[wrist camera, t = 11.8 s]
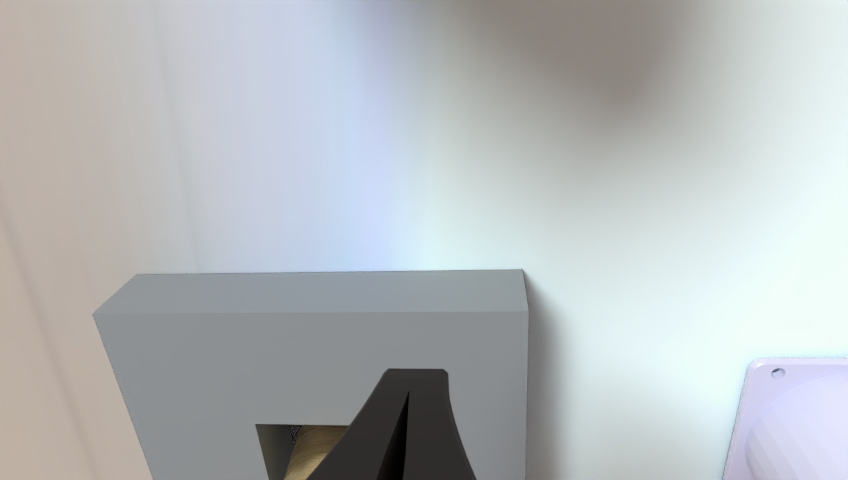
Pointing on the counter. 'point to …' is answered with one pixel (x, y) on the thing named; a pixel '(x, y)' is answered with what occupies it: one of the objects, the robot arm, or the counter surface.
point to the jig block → (311, 361)
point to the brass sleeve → (312, 448)
